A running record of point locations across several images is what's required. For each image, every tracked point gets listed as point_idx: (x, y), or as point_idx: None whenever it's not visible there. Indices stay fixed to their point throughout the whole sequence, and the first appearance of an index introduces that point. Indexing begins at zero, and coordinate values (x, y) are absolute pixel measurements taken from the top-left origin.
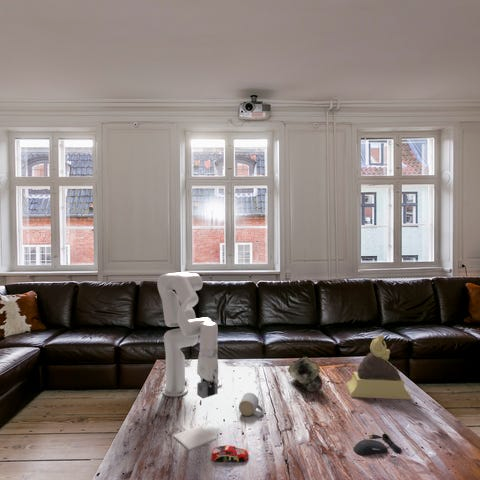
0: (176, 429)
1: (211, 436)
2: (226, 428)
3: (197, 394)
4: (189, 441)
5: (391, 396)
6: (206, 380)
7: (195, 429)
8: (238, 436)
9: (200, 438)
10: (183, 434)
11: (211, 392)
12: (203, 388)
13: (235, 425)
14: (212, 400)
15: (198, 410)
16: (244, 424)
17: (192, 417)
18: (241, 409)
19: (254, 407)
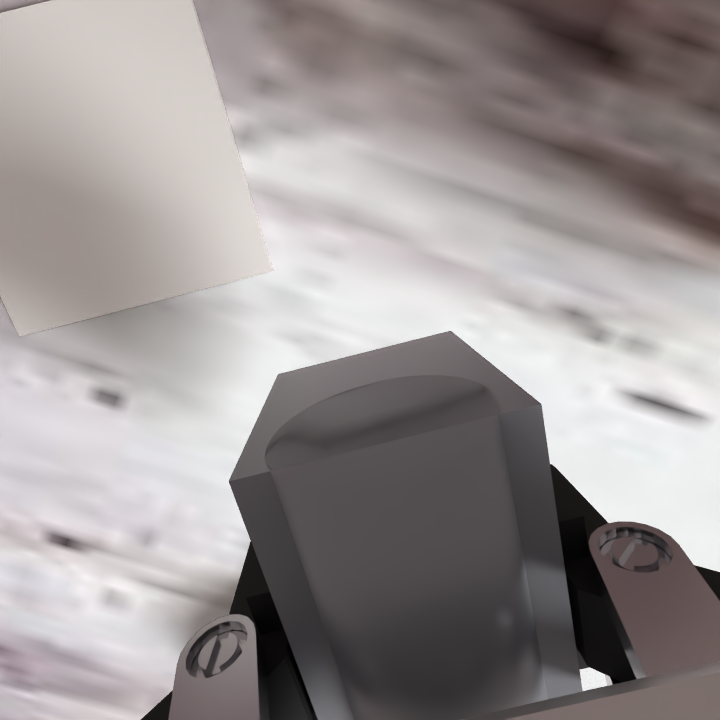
0: (309, 51)
1: (50, 308)
2: (172, 459)
3: (445, 334)
4: (11, 88)
5: None
6: (486, 688)
7: (214, 214)
8: (26, 500)
9: (39, 206)
10: (160, 73)
11: (249, 561)
12: (244, 470)
13: (193, 530)
14: (641, 498)
15: (546, 349)
16: (185, 587)
17: (456, 264)
18: None
19: None
